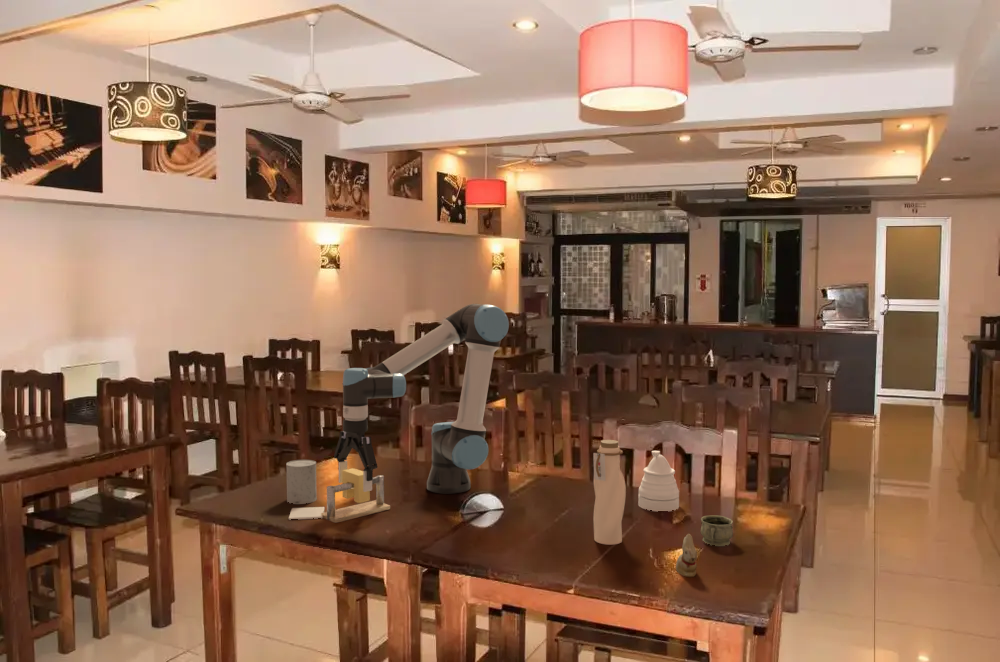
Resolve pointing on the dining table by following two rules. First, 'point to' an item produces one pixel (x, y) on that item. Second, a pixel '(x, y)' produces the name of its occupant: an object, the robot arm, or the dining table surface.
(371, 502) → the rail stand
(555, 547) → the dining table surface
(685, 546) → the chocolate bunny
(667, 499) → the honey pot
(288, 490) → the grey speckled cylinder
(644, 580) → the dining table surface
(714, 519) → the vessel
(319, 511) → the coaster
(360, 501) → the c link
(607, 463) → the water bottle
